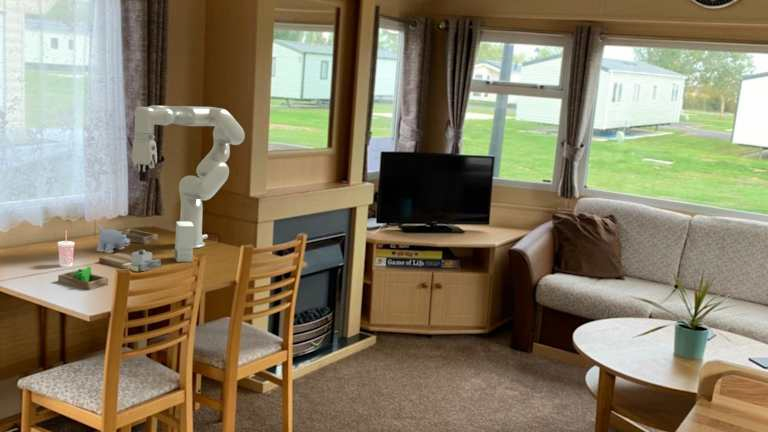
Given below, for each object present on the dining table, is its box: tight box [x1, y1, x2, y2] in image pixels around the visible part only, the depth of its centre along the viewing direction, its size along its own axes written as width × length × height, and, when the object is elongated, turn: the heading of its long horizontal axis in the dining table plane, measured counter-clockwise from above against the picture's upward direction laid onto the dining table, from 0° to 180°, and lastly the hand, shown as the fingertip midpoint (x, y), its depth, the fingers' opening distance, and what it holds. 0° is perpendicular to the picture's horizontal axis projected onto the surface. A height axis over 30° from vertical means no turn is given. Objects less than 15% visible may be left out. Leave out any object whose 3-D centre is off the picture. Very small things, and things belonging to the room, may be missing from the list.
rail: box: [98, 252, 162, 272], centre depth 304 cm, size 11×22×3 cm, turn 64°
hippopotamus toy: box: [96, 226, 131, 254], centre depth 324 cm, size 11×15×10 cm
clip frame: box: [118, 228, 159, 245], centre depth 346 cm, size 8×16×3 cm, turn 64°
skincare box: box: [173, 220, 194, 263], centre depth 317 cm, size 8×7×16 cm
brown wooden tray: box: [57, 269, 109, 291], centre depth 276 cm, size 8×16×2 cm, turn 64°
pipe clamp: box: [75, 266, 92, 285], centre depth 275 cm, size 11×4×5 cm, turn 10°
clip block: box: [131, 249, 153, 267], centre depth 301 cm, size 6×6×6 cm
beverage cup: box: [57, 229, 76, 268], centre depth 296 cm, size 6×6×14 cm
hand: (143, 180), depth 319 cm, fingers closed
